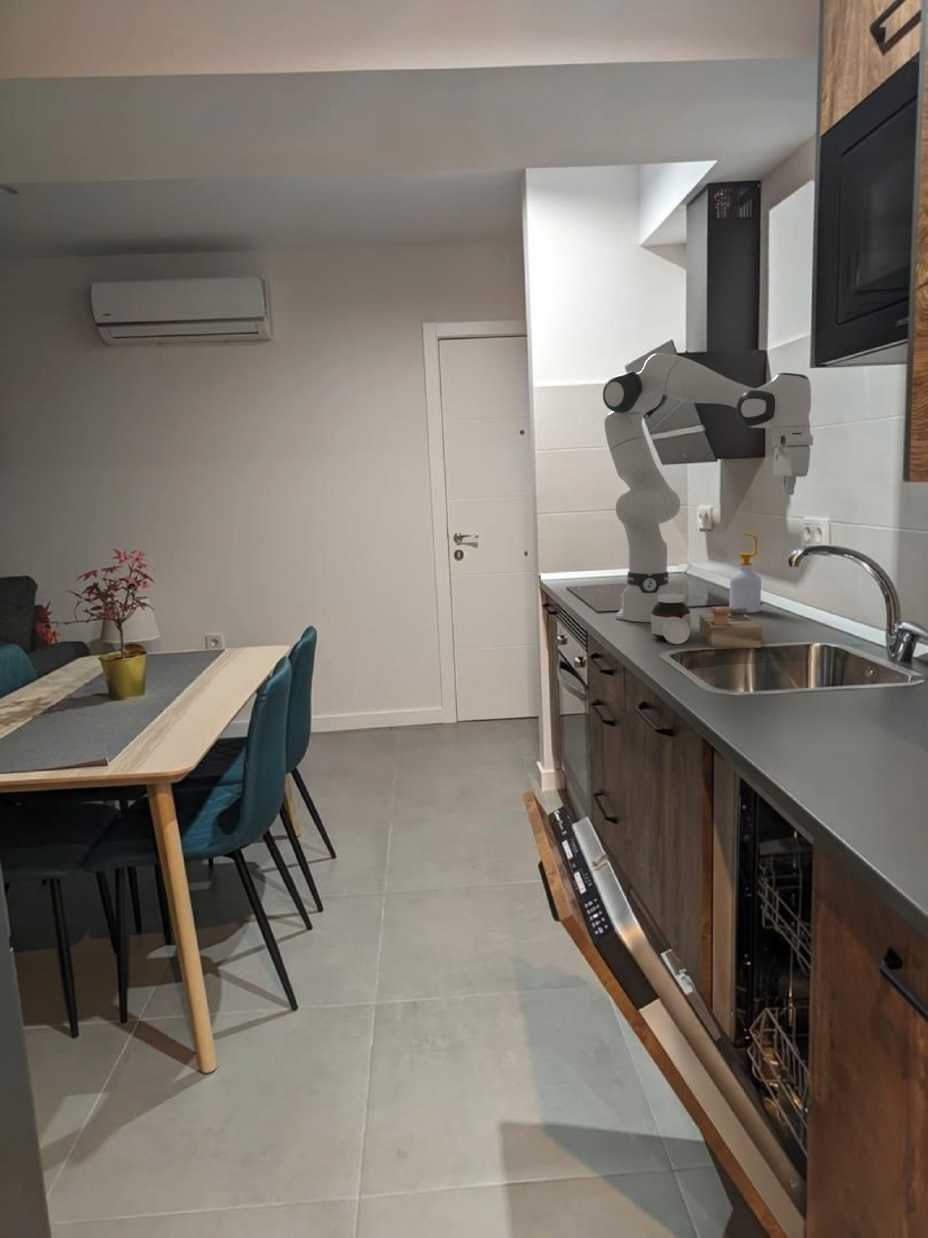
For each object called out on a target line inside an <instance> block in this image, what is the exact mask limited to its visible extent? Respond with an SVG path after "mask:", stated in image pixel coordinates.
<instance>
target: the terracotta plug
mask: <svg viewBox="0 0 928 1238" xmlns="http://www.w3.org/2000/svg"><path fill="white" fill-rule="evenodd" d="M710 613H711V614H713V626H728V614H731V608H729V606H712V607H711V609H710Z"/></svg>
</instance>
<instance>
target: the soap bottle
mask: <svg viewBox="0 0 928 1238" xmlns="http://www.w3.org/2000/svg"><path fill="white" fill-rule="evenodd" d="M740 533H741V534H743V535H746V536H750V537H751V538H754V550H753V552H741V553H740V552H739V553H738V556H740V557H741V559H743V562H740V568H739V569H740V570H739V571H738V572H736V573H734V574H733V575H731V577H730V580H729V606H728V607H734V606H739V607H746V608H747V612H746V613H745V614H751V613H752V614H753V613H757V612H760V610H761V598H762V578H761V576H760V575H759V574H757V573H756V572H754V571H753V569H752V568H753V566H752V565H753V563H752V562H750V559H752V556H756V555H757V552H758V538H757V536H756V535H754V534H752V533H749V532H746V531H741V532H740Z"/></svg>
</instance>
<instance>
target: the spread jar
mask: <svg viewBox="0 0 928 1238" xmlns="http://www.w3.org/2000/svg"><path fill="white" fill-rule="evenodd" d="M650 629H651V634H652V636H653V637H654V638H656V640H659V641H662V642H668V643H669V644H672V645H681V644H683V643H685V642H686V641H687V640H688V639H689V637H690V634H691V633H690V632H691V609H690V607H689V605H687V604H686V603H685V595H684V594H679V593H678V594H677V593H673V594H661V595H658V603H657V604H656V605H655V606H654V608H653V610H652V614H651V622H650Z"/></svg>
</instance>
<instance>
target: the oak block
mask: <svg viewBox="0 0 928 1238" xmlns="http://www.w3.org/2000/svg"><path fill="white" fill-rule="evenodd" d="M730 618H731V613H728V626H713V613H708V614H707V613H705V614H704V613H701V614H699V624H698V625H699V627H698V629H699V630H698V633H701V634H700V635H701V636H702V638H705V639H704V640H705V642H706V643H707V644H708V643H709V644H710V645H711V646H712V647H735V649H736V648H762V633H763V632H762V631H763V630H762V626H760V625H759V624H758V623H757V622H756V621H754V620H753V619H752V618H751V617H749V616H748V615H747V613H745V619H730ZM709 644H708V645H709ZM710 645H709V646H710ZM711 646H710V647H711ZM712 647H711V648H712Z"/></svg>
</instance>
